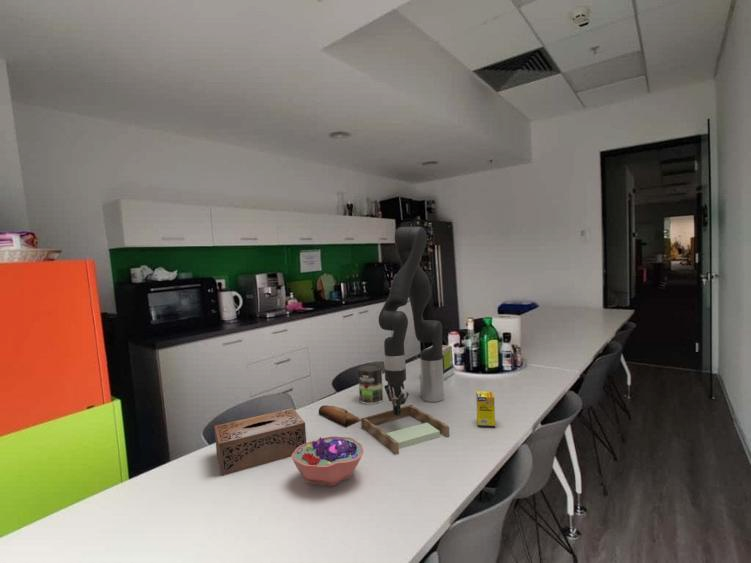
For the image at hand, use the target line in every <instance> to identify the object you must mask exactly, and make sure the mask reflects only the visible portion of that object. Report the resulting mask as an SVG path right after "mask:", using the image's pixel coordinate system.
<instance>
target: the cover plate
mask: <svg viewBox="0 0 751 563" xmlns="http://www.w3.org/2000/svg"><path fill="white" fill-rule="evenodd" d="M385 433H386V434H387V435H389V436H390V437H392V438H393V439H394V440H396V441H397V442H398V446H399V450H400V449H402V448H406V447H411V446H414V445H417V444H422V443H425V442H428V441H432V440H435V439H439V438H441V433H440V431H439V430H437V429H436V428H434V427H433V426H431V425H430V424H428V423H423V422H422V423H420V424H416V425H413V426H409V427H405V428H401V429H398V430H393V431H390V432H385Z"/></svg>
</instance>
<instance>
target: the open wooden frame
mask: <svg viewBox="0 0 751 563" xmlns="http://www.w3.org/2000/svg"><path fill="white" fill-rule="evenodd" d="M409 416H411V417H413V418H415V419H416V420H418V421H419V422H421V423H422V424H423V423H428V424H430V425H431V426H433V427H434V428H436V429H437V430H439V431H440V435H443V436H444V437H445V438H449V437H450V426H449V425H448V424H445V423H444V422H442V421H441V420H439V419H437V418H435V417H433V416H431V415H430V414H428V413H426V412H425V411H423V410H420V409H419V408H417V407H415V406H414V405H413V404H410V405H406V406H401V414H400V415H398V416H395V415H394V414H393V409H391V410H387V411H384V412H380V413H376V414H372V415H368V416H366V417H365V416H364V417H361V418H360V419H361V421H360V427H361V429H362V430H365V431H366V432H368V433H369V434H370V435H371V436H373V437H374V438H375V439H376V440H377V441H379V442H380V443H381V444H382V445H384V446H385V447H386V448H388V450H390V451H391V452H393V454H395V455H398V454H400V451H399V450H400V449H399V446H398V442H397V441H396V440H394V439H393V438H392V437H390V436H389V435H387V434H386V433H387V432H385V431H384V430H382V429H381V428H379V425H380V424H385V423H387V422H391V421H395V420H398V419H402V418H406V417H409Z"/></svg>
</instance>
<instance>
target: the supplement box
mask: <svg viewBox="0 0 751 563" xmlns="http://www.w3.org/2000/svg"><path fill="white" fill-rule="evenodd" d="M475 396H476V397H475V398H476V401H475V402H476V422H477V427H478V428H491V429H492V428H496V416H495V415H496V412H495V411H496V410H495V408H496V407H495V394H494V391H484V390H483V391H482V390H481V391H480V390H479V391H478V390H476V392H475Z"/></svg>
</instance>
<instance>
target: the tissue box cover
mask: <svg viewBox="0 0 751 563" xmlns="http://www.w3.org/2000/svg"><path fill="white" fill-rule="evenodd" d="M213 426H214V427H213V428H214V437H215V439H214V440H215V447H216V449H215V451H216V458H217V461H218V462H217V463H218V467H219V470H220V475H221V477H224V476H227V475H231V474H234V473H238V472H242V471H245V470H248V469H253V468H256V467H259V466H262V465H266V464H271V463H273V462H276V461H277V462H278V461H279V460H284V459H288V458H292V457H291V456H292V453H293V452H294V451H295V450H296V449H297V448H298V447H299V446H301V445H303V444H305V443H307V435H306V434H307V431H306V430H307V429H306V422H305V421H304V419H303V418H302V417H301V416H300V415H299V414H298V412H297V411H296V410H295V409H294V407H292V408H291V407H290V408H287V409H283V410H279V411H274V412H269V413H264V414H261V415H256V416H253V417H248V418H244V419H243V418H242V419H238V420H235V421H234V420H233V421H229V422H225V423H222V424H217V425H213Z"/></svg>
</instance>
